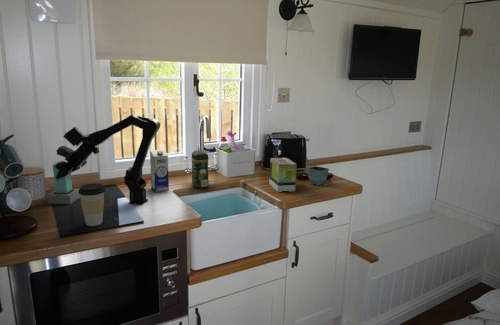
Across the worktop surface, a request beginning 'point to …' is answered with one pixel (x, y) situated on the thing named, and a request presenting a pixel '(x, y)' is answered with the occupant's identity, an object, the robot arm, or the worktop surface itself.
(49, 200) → the socket block
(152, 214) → the worktop surface
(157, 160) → the milk carton
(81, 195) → the coffee cup
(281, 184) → the tea box
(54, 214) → the worktop surface
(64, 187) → the teal peg
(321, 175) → the flower pot
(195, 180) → the coffee jar
